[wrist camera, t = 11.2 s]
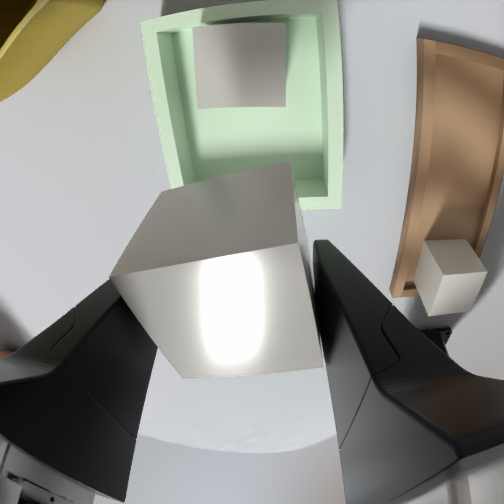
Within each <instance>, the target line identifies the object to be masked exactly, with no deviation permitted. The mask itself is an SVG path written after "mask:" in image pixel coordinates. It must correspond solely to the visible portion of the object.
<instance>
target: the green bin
mask: <svg viewBox="0 0 504 504" xmlns="http://www.w3.org/2000/svg"><path fill="white" fill-rule="evenodd" d="M234 23H285V31H286V107H229V108H206V109H197V96H196V82H195V66H194V50H193V30H192V27H197V26H207V25H219V24H234ZM140 26H141V33H142V40H143V47H144V53H145V59H146V66H147V72H148V77H149V83H150V89H151V94H152V100H153V105H154V111H155V116H156V121H157V126H158V131H159V136H160V141H161V146H162V150H163V155H164V160H165V164H166V169H167V173H168V178H169V182H170V187H171V189H174V188H177V187H181V186H185V185H189V184H192V183H196V182H200V181H204V180H208V179H212V178H216V177H220V176H224V175H228V174H232V173H236V172H241V171H245V170H249V169H254V168H258V167H263V166H268V165H272V164H277V163H282V162H287V161H290V164H291V168H292V172H293V176H294V181H295V185H296V190H297V194H298V198H299V203H300V207H301V210H316V209H341V207H342V183H343V79H342V56H341V40H340V26H339V14H338V3H337V0H264V1H252V2H242V3H233V4H225V5H218V6H212V7H206V8H200V9H194V10H189V11H184V12H179V13H175V14H170V15H166V16H162V17H158V18H154V19H150V20H146V21H143V22H140Z"/></svg>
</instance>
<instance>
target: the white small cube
mask: <svg viewBox="0 0 504 504" xmlns="http://www.w3.org/2000/svg"><path fill="white" fill-rule="evenodd" d="M109 278H110V279H111V281H112V282H113V284H114V286H115V287H116V289H117V290H118V292H119V293H120V295H121V296H122V298H123V299H124V301H125V302H126V303H127V305H128V306H129V308H130V309H131V311H132V312H133V314H134V315H135V316H136V318H137V319H138V321H139V322H140V323H141V325H142V326H143V328H144V329H145V330H146V332H147V333H148V335H149V336H150V337H151V339H152V340H153V341H154V343H155V344H156V345H157V347H158V348H159V349H160V351H161V352H162V353H163V354H164V356H165V357H166V358H167V360H168V361H169V362H170V363H171V365H172V366H173V367H174V368H175V370H176V371H177V372H178V373H179V375H180V376H181V377H182V378H183V379H189V378H215V377H232V376H246V375H258V374H269V373H279V372H288V371H297V370H305V369H312V368H319V367H324V366H323V355H322V344H321V337H320V331H319V323H318V316H317V308H316V300H315V290H314V276H313V266H312V260H311V255H310V250H309V245H308V240H307V236H306V231H305V226H304V221H303V217H302V212H301V207H300V203H299V198H298V194H297V190H296V185H295V181H294V176H293V172H292V168H291V164H290V161H287V162H282V163H277V164H272V165H268V166H263V167H258V168H254V169H249V170H245V171H241V172H236V173H232V174H228V175H224V176H220V177H216V178H212V179H208V180H204V181H200V182H196V183H192V184H189V185H185V186H181V187H177V188H174V189H170V190H167V191H163V192H161V194H160V195H159V197H158V198H157V200H156V201H155V203H154V204H153V206H152V207H151V209H150V210H149V212H148V213H147V215H146V216H145V218H144V220H143V221H142V223H141V224H140V226H139V228H138V229H137V231H136V232H135V234H134V236H133V237H132V239H131V240H130V242H129V244H128V245H127V247H126V249H125V250H124V252H123V254H122V255H121V257H120V259H119V260H118V262H117V264H116V266H115V267H114V269H113V271H112V273H111V274H110V276H109Z"/></svg>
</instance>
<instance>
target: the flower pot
mask: <svg viewBox="0 0 504 504" xmlns="http://www.w3.org/2000/svg"><path fill="white" fill-rule="evenodd" d="M102 7H103V0H0V102H1V101H3V100H4V99H6V98H8V97H9V96H11V95H13V94H14V93H16V92H17V91H18V90H20V89H21V88H23V87H24V86H25V85H26V84H27V83H29V82H30V81H31V80H32V79H33V78H34V77H35V76H36V75H37V74H38V73H39V72H40V71H41V70H42V69H43V68H44V67H45V66H46V65H47V64H48V63H49V61H50V60H51V59H52V58H53V57H54V56H55V55H56V54H57V52H58V51H59V50H60V49H61V48H62V47H63V46H64V45H65V44H66V43H67V42H68V41H69V40H70V39H71V37H72V36H73V35H74V34H75V33H76V32H77V31H78V30H79V29H81V28H82V27H83V26H84V25H85V24H86V23H87V22H88V21H89V20H90V19H91V18H92V17H93V16H94V15H96V14H97V13H98V12H99V11H100V10H101V9H102Z"/></svg>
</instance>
